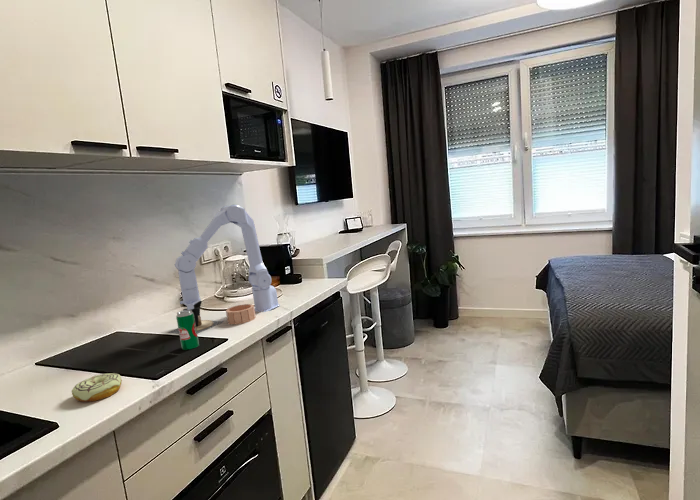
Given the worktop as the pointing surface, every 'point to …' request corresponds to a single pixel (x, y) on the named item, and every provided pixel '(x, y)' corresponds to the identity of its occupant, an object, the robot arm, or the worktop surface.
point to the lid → (203, 324)
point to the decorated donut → (97, 387)
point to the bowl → (240, 314)
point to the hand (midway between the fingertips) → (195, 324)
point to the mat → (200, 330)
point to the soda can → (187, 329)
